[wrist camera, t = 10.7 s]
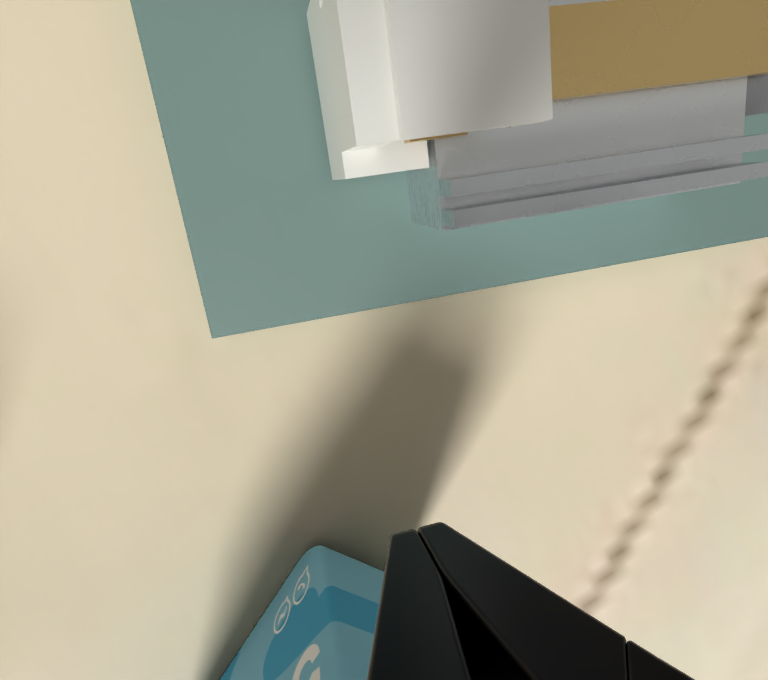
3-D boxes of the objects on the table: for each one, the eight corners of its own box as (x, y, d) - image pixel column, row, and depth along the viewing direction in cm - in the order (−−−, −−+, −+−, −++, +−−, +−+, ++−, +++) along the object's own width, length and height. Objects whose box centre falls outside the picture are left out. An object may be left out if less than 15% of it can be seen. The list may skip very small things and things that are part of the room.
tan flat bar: (790, -35, 15) (810, -44, 15) (779, 93, 16) (798, 90, 16) (387, 0, 13) (393, -8, 13) (404, 143, 14) (409, 142, 14)
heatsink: (719, -80, 18) (857, -160, 14) (706, 176, 21) (820, 174, 16) (380, -57, 16) (420, -142, 12) (412, 223, 19) (454, 234, 15)
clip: (452, 1, 17) (545, -91, 11) (465, 161, 18) (553, 150, 13) (306, 13, 16) (329, -78, 10) (332, 180, 17) (364, 177, 12)
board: (819, -172, 19) (842, -186, 18) (781, 229, 23) (799, 230, 22) (99, -144, 15) (91, -161, 14) (214, 332, 19) (212, 338, 18)
